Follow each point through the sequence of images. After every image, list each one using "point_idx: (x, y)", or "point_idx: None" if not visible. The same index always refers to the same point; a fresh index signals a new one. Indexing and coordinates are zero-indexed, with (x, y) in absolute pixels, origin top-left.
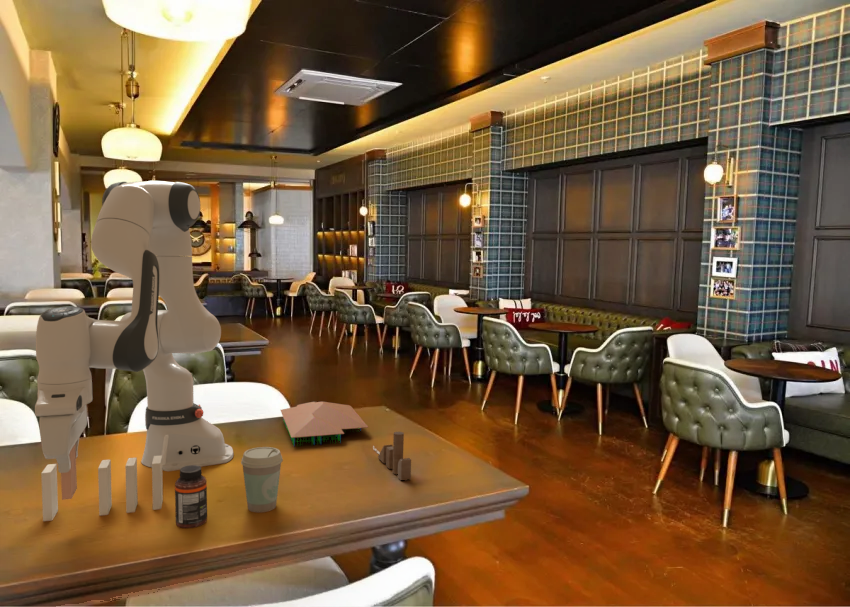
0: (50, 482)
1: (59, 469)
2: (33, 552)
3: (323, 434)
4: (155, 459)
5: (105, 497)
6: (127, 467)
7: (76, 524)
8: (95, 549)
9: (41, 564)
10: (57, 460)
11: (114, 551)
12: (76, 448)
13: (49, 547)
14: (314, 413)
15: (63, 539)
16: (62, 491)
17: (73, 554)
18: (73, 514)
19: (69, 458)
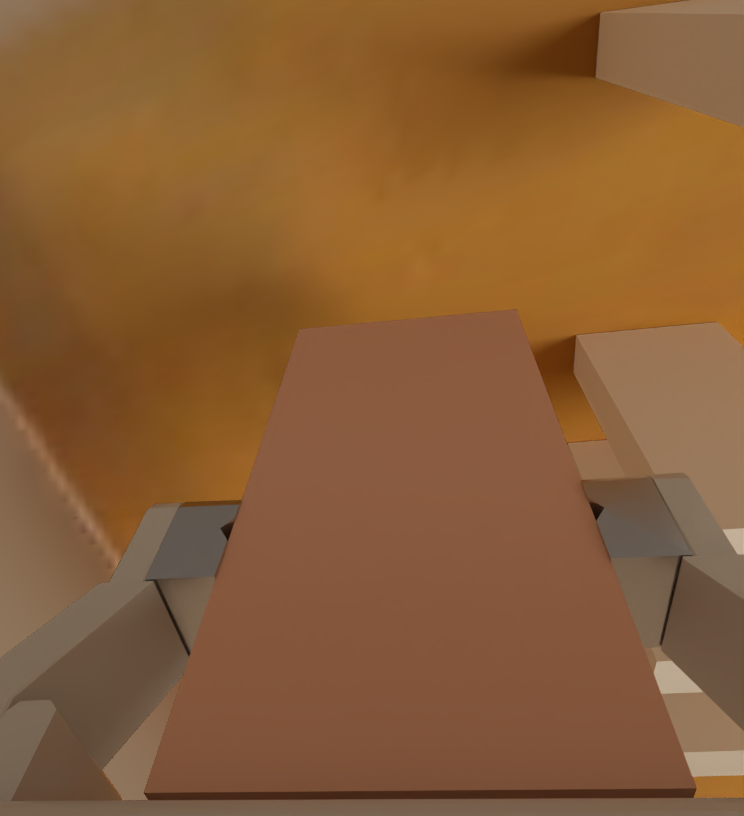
0: (720, 112)
1: (142, 532)
2: (157, 129)
3: None
4: (715, 759)
5: (602, 420)
6: (652, 657)
7: (494, 248)
8: (194, 406)
9: (35, 224)
10: (34, 641)
11: (177, 472)
12: (680, 657)
13: (216, 197)
14: None
15: (308, 239)
16: (290, 366)
17: (144, 334)
18: (659, 186)
19: (143, 716)
